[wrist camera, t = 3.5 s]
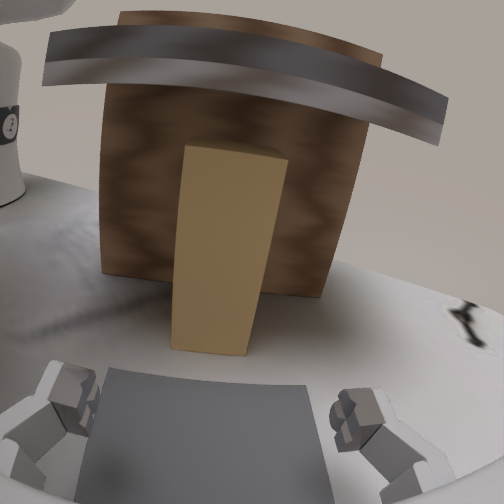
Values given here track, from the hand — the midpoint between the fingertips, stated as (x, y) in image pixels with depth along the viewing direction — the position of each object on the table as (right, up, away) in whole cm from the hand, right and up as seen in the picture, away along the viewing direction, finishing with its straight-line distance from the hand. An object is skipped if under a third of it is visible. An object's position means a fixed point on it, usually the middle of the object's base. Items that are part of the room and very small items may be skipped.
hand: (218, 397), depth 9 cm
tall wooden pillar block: (-2, -1, +13) cm, 13 cm away
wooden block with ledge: (-2, +1, +17) cm, 17 cm away
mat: (-1, -6, +3) cm, 7 cm away
